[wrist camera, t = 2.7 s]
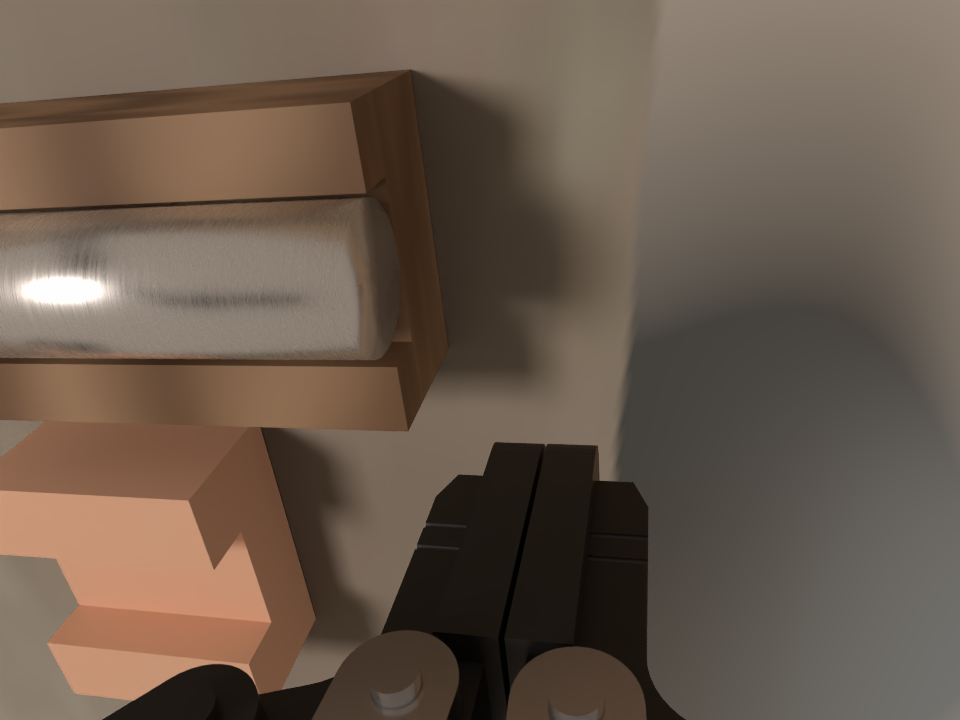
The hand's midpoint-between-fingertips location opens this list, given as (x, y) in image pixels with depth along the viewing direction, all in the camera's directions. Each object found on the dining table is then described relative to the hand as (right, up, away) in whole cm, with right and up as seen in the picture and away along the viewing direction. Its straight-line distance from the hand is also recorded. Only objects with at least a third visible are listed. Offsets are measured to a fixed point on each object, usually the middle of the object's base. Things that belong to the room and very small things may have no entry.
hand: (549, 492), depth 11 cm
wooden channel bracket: (-10, +6, +14) cm, 18 cm away
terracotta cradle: (-14, -5, +21) cm, 25 cm away
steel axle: (-11, +5, +11) cm, 16 cm away
